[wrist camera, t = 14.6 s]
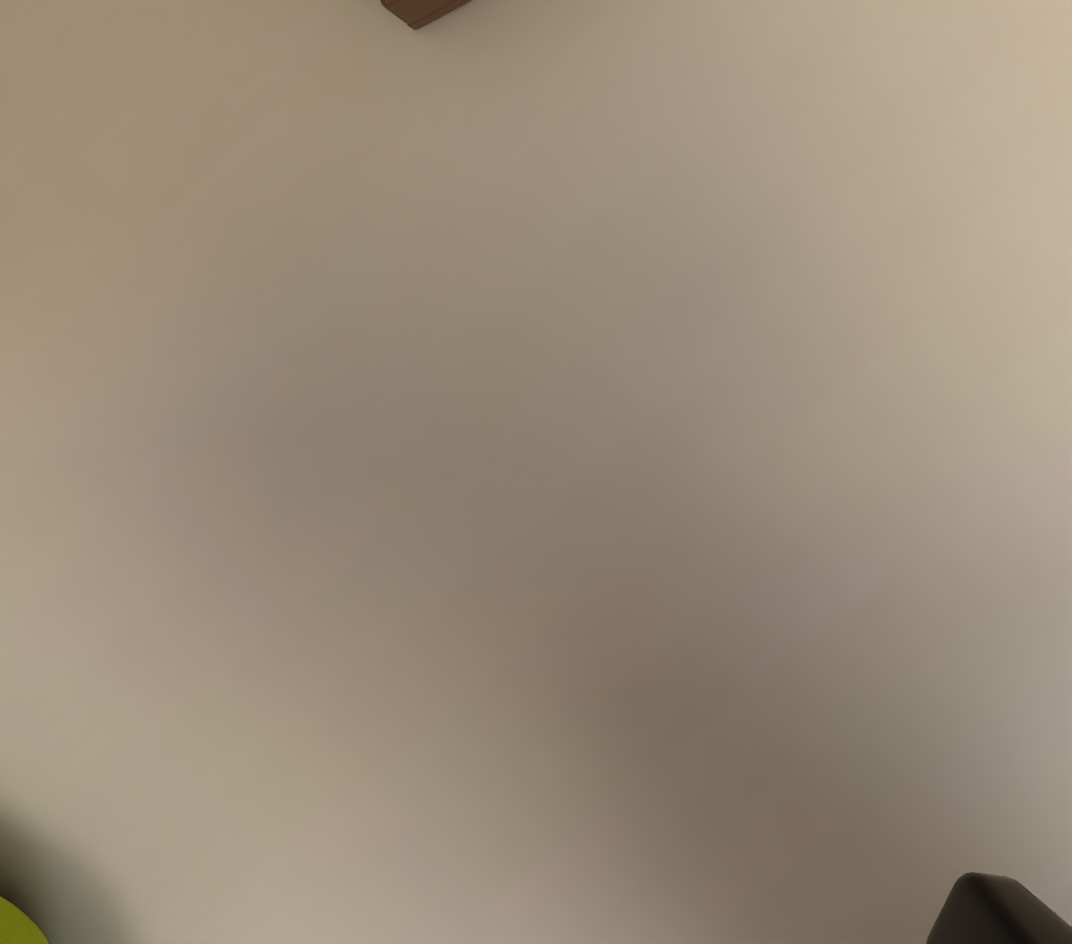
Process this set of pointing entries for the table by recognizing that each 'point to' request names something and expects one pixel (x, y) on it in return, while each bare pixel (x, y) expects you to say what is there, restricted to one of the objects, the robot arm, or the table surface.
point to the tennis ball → (17, 926)
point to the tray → (421, 10)
